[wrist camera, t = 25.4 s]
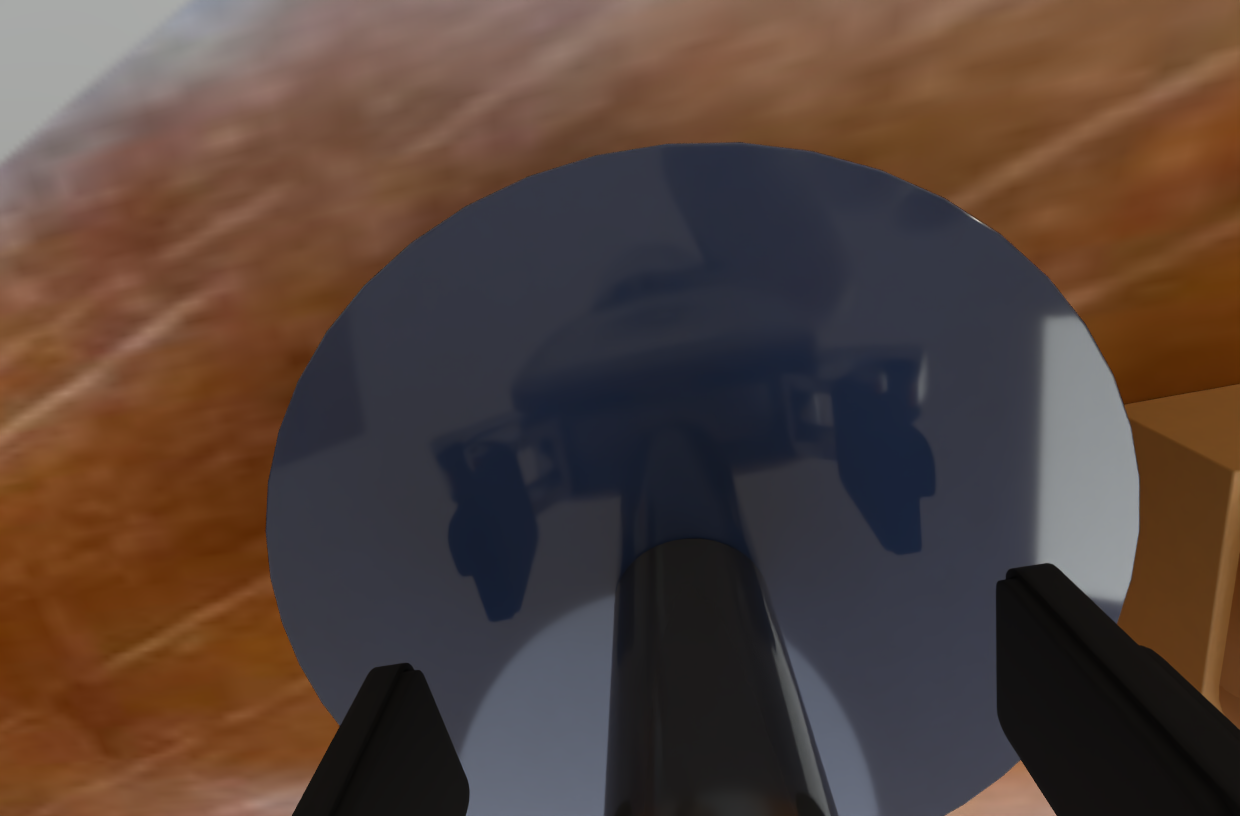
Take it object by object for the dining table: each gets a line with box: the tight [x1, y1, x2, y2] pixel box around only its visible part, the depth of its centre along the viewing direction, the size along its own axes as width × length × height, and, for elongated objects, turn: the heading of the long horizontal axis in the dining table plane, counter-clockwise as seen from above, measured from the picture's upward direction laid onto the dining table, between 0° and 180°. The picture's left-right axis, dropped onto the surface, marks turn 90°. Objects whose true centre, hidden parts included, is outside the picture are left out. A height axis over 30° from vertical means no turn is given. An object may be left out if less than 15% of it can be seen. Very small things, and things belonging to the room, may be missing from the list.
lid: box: [266, 142, 1140, 816], centre depth 10 cm, size 17×17×7 cm
